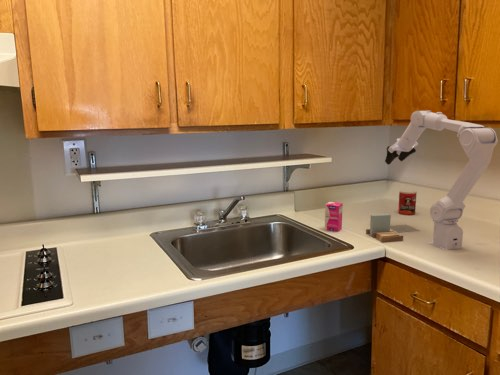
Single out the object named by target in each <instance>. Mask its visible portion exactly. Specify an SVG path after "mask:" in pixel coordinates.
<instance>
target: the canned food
mask: <svg viewBox="0 0 500 375" xmlns="http://www.w3.org/2000/svg"><path fill="white" fill-rule="evenodd" d="M417 193H418V192H417V191H416V190H415V189H400V190H399V193H398V194H399V195H398V210H397V211H398V214H400V215H403V216H413V215H415V213H416V206H417Z"/></svg>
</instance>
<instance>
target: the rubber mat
mask: <svg viewBox="0 0 500 375" xmlns="http://www.w3.org/2000/svg"><path fill="white" fill-rule="evenodd" d="M390 230H391V231H394V232H395V233H397V234H400V233H411V232H421V230H420V229H417V228H415V227H413V226H410V225H408V224H396V225H395V224H393V225H390Z"/></svg>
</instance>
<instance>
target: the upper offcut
mask: <svg viewBox="0 0 500 375" xmlns="http://www.w3.org/2000/svg"><path fill="white" fill-rule="evenodd" d="M377 236H378V237H380V238H381V237H390V236H400V233H398V232H396V231H394V232H384V233H377Z"/></svg>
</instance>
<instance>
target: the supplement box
mask: <svg viewBox="0 0 500 375" xmlns="http://www.w3.org/2000/svg"><path fill="white" fill-rule="evenodd" d="M343 205H344V204H343V203H342V202H334V201H328V202H326V204H325V208H324V209H325V210H324V214H325V215H324V231H328V232H336V233H339V232H340V231H341V230H342V229H343V228H342V227H343V224H342V223H343Z"/></svg>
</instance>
